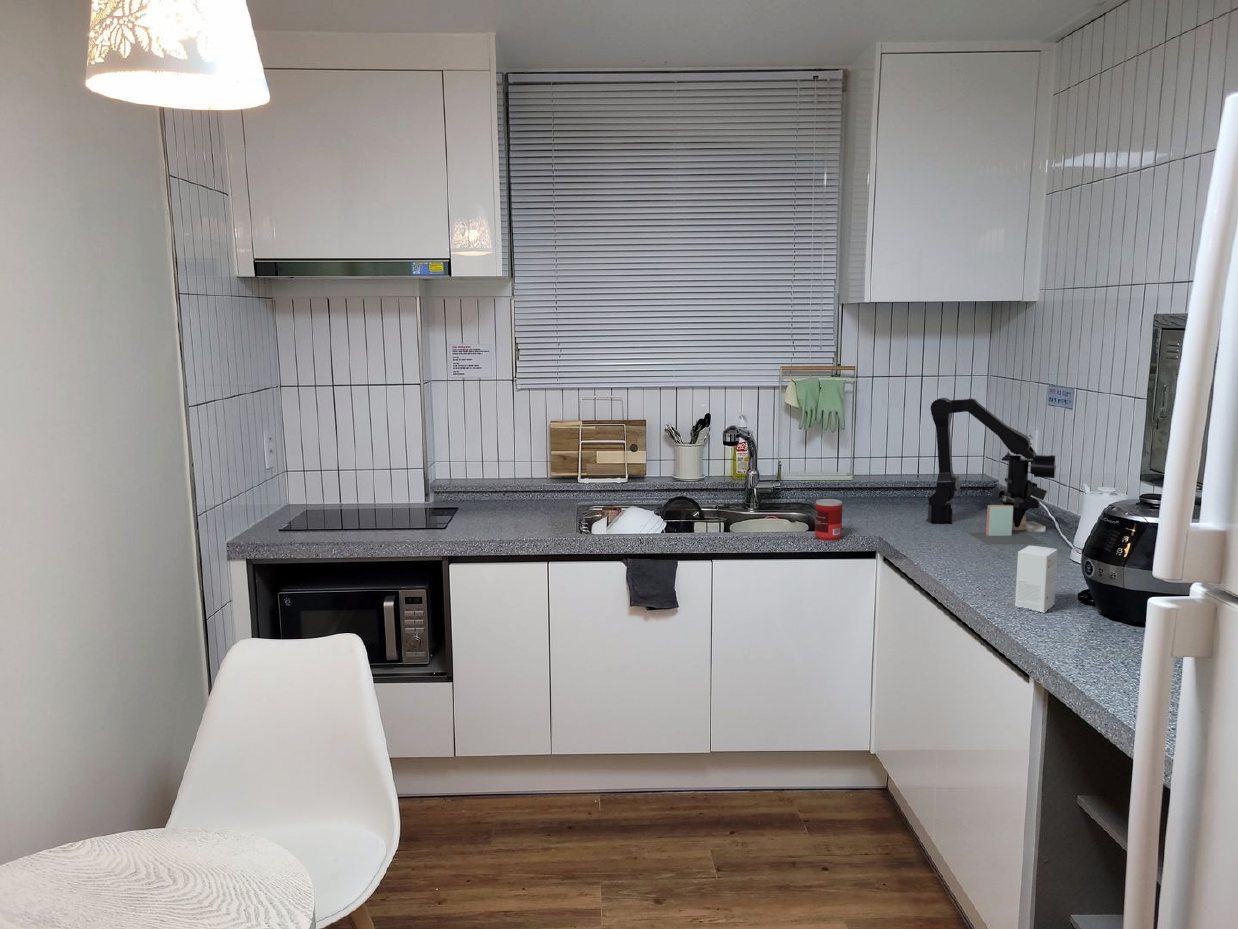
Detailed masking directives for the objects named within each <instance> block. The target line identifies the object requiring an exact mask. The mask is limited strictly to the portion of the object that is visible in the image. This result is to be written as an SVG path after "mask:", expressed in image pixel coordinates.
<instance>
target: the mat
mask: <svg viewBox="0 0 1238 929" xmlns="http://www.w3.org/2000/svg"><path fill="white" fill-rule="evenodd" d="M967 534H969V535H970V536H971V537H974V538H976V539H977V540H979V541H980V542H982V543H984V544H986V545H988V546H989V545H990V546H992V545H997V546H998V545H1002V546H1003V545H1047V543H1046V542H1044V541H1042V540H1040V539H1037V538H1036V537H1034V536H1031V535H1030V534H1027V533H1025V532H1024V531H1023V532H1022V531H1021V532H1012V536H987V535H986V532H967Z"/></svg>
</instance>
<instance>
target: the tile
mask: <svg viewBox="0 0 1238 929" xmlns="http://www.w3.org/2000/svg"><path fill="white" fill-rule="evenodd" d="M1012 522H1013V506H1012V505H1002V504H988V505H987V511H986V524H985V525H986V526H985V529H986V530H985V533H986V535H987V536H1012V533H1013V530H1012Z"/></svg>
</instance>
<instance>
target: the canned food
mask: <svg viewBox="0 0 1238 929" xmlns="http://www.w3.org/2000/svg"><path fill="white" fill-rule="evenodd" d="M814 516H815V517H814V518H815V519H814V526H815V527H814V536H815V538H816V539H818V540H820V541H839V540H840V539H841V537H842V532H843V530H842V529H843V528H842V527H843V526H842V525H843V524H842V523H843V501H842V500H839V499H835V498H834V499H833V498H822V499H817V500H815V515H814Z"/></svg>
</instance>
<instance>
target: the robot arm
mask: <svg viewBox="0 0 1238 929" xmlns="http://www.w3.org/2000/svg"><path fill="white" fill-rule="evenodd" d="M967 412H968V413H969V414H971V415H972V416H973V417H974V418H975V419H976V420H978V421H979V422H980V423H981V424H983V425H984V426H985V427H987V428H988V429H989V430H990V431H992V433H994V434H995V435H996V436H998V438H999V439H1000V440H1001V442H1002V443H1003V444H1004V446H1005V447H1006V448H1007V450H1009V451H1010V452H1011V453H1012V454H1013V455H1012V454H1011V453H1010V452H1006V454H1005V455H1004V456H1003V457H1001V461H1003V462H1007V461H1008V462H1007V463H1008V464H1007V477H1004V482H1006V488H996V489H995V491H994V494H993V495H994V496H993V497H994V498H995V499H997V500H1000V499H1001V498H1002V500H1000V502H999V503H1000V505H1012V506H1013V522H1014V525H1015V527H1019V526H1020V524H1021V521H1022V519H1023V516H1024V514H1025V513H1026V512H1028V511H1029V510H1030V509H1040V505H1041V504H1040V503H1041V502H1040V501H1039V500H1041V501H1044V499H1045V497H1046V495H1047V492H1048V490H1046V489H1043V488H1041V487H1038V483H1036V482H1033V481H1032V480H1031V479H1029V472H1030V474H1032V475H1033V477H1034V478H1045V479H1046V478H1047V479H1055V478H1056V472H1057V471H1056V468H1057V465H1056V455H1055V454H1053V455H1052V454H1049V455H1042V454H1037V452H1036V451H1035V450H1034V448H1033V447H1032V446H1031V445H1032V444H1031V443H1032V441H1031V438H1030V437H1029V436H1028V435H1026V434H1024V433H1023V432H1021V431H1019V430H1017V429H1015V428H1013V427H1011V426H1009V425H1007V423H1006V424H1005V423H1004V421H1002V420H1001V419H999V417H997V416H996V415H995V414H993V413H992V412H990V411H989V410H988V408H986V407H984V406H983V405H982V404H981V403H980V402H979V401H978V400H977V399H976V398H972V397H970V398H965V399H964V398H963V399H949V398H947V397H941V398H938V399H937V398H936V399H935V400H933V402H931V405H930V413H931V417H932V420H933V423H934V425H935V429H936V442H937V443H936V446H937V447H936V448H937V460H938V463H937V464H938V474H937V480H936V485H935V493H933V494H932V495H931V496H929V497H928V498H927V501H928V502H927V503H928V504H927V505H928V506H927V507H928V508H927V518H925V521H926V522H927V523H930V524H931V525H953V511H954V510H953V508H952V504H951V503H950V501H951V500H952V499H953V498H954V497H956V495H957V494H958V493H959V490H960V488H961V486H960V475H955V472H954V470H953V469H954V468H953V454H952V436H951V424H952V418H953V414H956V413H967ZM1022 457H1023V458H1022ZM1029 464H1030V465H1029ZM1029 466H1030V468H1029ZM1029 469H1030V470H1029ZM1025 515H1026V514H1025Z"/></svg>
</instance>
